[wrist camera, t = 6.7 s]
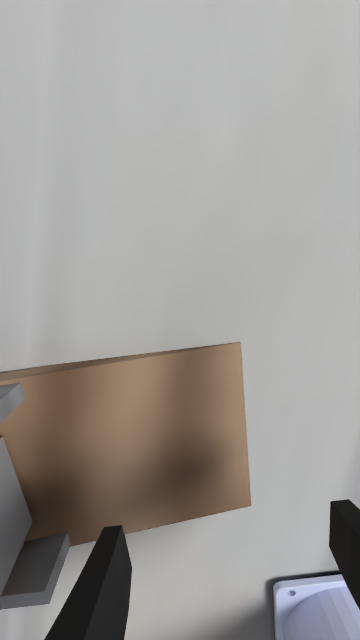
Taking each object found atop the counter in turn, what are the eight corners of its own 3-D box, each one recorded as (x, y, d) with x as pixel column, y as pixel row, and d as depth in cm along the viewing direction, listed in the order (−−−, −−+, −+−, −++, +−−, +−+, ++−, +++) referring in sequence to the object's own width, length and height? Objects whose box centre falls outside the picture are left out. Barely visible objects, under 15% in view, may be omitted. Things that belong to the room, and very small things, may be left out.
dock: (235, 335, 13) (269, 381, 8) (246, 490, 16) (276, 590, 11) (-129, 380, 13) (-291, 448, 9) (-60, 526, 16) (-157, 639, 11)
